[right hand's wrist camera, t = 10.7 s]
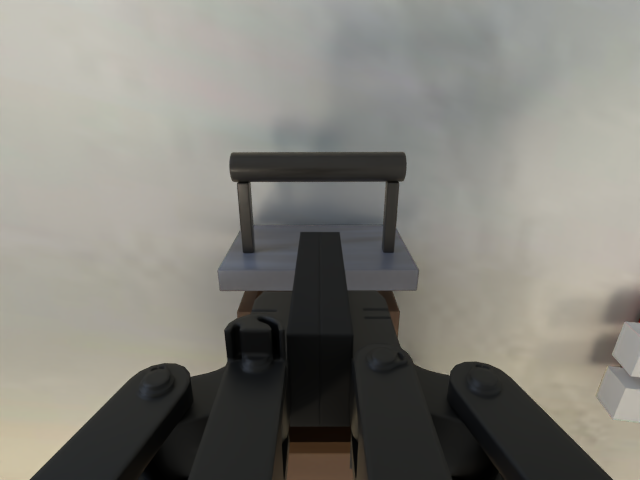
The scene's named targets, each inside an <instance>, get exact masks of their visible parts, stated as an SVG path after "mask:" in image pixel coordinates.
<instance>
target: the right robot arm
mask: <svg viewBox="0 0 640 480" xmlns="http://www.w3.org/2000/svg"><path fill="white" fill-rule="evenodd" d="M224 332H225V341H226V351H227V360H228V361H227V364H226V366H225V367H223V368H221V369H219V370H216V371H213V372H210V373H206V374H202V375H198V376H193V377H190V373H189V372H188V370H187V369H186V368H185V367H183V366H181V365H178V364H172V363H163V364H159V365H154V366H151V367H148V368H146V369H144V370H142V371H140V372H138V373H137V374H136V375H135V376H133V377H132V378H131V379H129V380H128V381H127V382H126V383H125V384H124V385H123V386H122V387H121V389H120V390H119V391H118V392H117V393H116V394H115V395H114V396H113V397H112V398H111V399H110V400H109V401H108V402H107V403H106V404H105V405H104V406H103V407H102V408H101V409H100V410H99V411H98V412H97V413H96V414H95V415H94V416H93V417H92V418H91V419H90V420H89V421H88V422H87V423H86V424H85V425H84V426H83V427H82V428H81V429H80V430H79V431H78V432H77V433H76V434H75V435H74V436H73V437H72V438H71V439H70V440H69V441H68V442H67V443H66V444H65V445H64V446H63V447H62V448H61V449H60V450H59V451H58V452H57V453H56V454H55V455H54V456H53V457H52V458H51V459H50V460H49V461H48V462H47V463H46V464H45V465H44V466H43V467H42V468H41V469H40V470H39V471H38V472H37V473H36V474H35V475H34V476H33V477H32V478H31V479H30V480H287V470H288V458H289V423H290V427H350V421H351V446H350V469H352V470H353V480H613V479H612V478H611V477H610V476H609V475H608V474H607V473H606V472H605V471H604V470H603V469H602V468H601V467H600V466H599V465H598V464H597V463H596V462H595V461H594V460H593V459H592V458H591V457H590V456H589V455H588V454H587V453H586V452H585V451H584V450H583V449H582V448H581V447H580V446H579V445H578V444H577V443H576V442H575V441H574V440H573V439H572V438H571V437H570V436H569V435H568V434H567V433H566V432H565V431H564V430H563V429H562V428H561V427H560V426H559V425H558V424H557V423H556V422H555V421H554V420H553V419H552V418H551V417H550V416H549V415H548V414H547V413H546V412H545V411H544V410H543V409H542V408H541V407H540V406H539V405H538V404H537V403H536V402H535V401H534V400H533V399H532V398H531V397H530V396H529V395H528V394H527V393H526V392H525V391H524V390H523V389H522V388H521V387H520V386H519V385H518V384H517V383H516V382H515V381H514V380H513V379H512V378H511V377H509V376H508V375H507V374H505V373H504V372H503V371H501V370H500V369H498V368H495V367H493V366H491V365H489V364H484V363H480V362H463V363H461V364H458V365H456V366H455V367H454V368H453V369H452V370H451V373H450V376H449V375H445V374H440V373H436V372H432V371H429V370H425V369H423V368H421V367H418V366H416V365H415V364H413V361H412V359H411V357H410V356H409V354H408V353H407V352H405V351H404V350H403V349H401V348H400V344H399V341H398V338H397V335H396V331H395V328H394V325H393V322H392V319H391V315H390V312H389V311H388V306H387V302H386V299H385V298H384V297H383V296H382V295H381V294H380V293H379V292H377V291H376V290H347V283H346V275H345V268H344V261H343V253H342V246H341V239H340V232H300V239H299V246H298V253H297V261H296V268H295V275H294V283H293V290H292V291H264V292H263V293H262V294H261V295H260V296H258V297H257V298H256V299H255V301H254V304H253V307H252V312H251V314H249V315H245V316H242V317H239V318H237V319H235V320H234V321H232V322H231V323H229V324H228V326H227V327H226V328H225V330H224Z"/></svg>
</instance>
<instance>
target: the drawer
mask: <svg viewBox="0 0 640 480" xmlns="http://www.w3.org/2000/svg"><path fill="white" fill-rule="evenodd" d="M229 166H230V175H231V179H232V181H233V182H238V183H237V190H238V202H239V214H240V226H241V230H240V232H239V233H238V235H237V237H236V239H235V240H234V242H233V244H232V246H231V248H230V249H229V251H228V253H227V255H226V256H225V258H224V260H223V262H222V263H221V265H220V267H219V269H218V279H219V288H220V291H245V292H244V295H243V298H242V300H241V303H240V306H239V308H238V311H237V316H238V318H239V317H242V316H245V315H249V314H251V312H252V307H253V304H254V301H255V299H256V298H257V297H258V296H260V295H261V294H262V293H263V292H264V291H292V290H293V283H294V275H295V268H296V261H297V253H298V246H299V239H300V232H340V239H341V246H342V253H343V261H344V268H345V275H346V283H347V290H376V291H377V292H379V293H380V294H381V295H382V296H383V297H384V298H385V299H386V302H387V306H388V311H389V312H390V315H391V319H392V322H393V325H394V328H395V331H396V335H397V338H398V327H399V315H400V311H399V308H398V306H397V303H396V300H395V297H394V294H393V292H392V291H416V290H417V284H418V275H419V269H418V267H417V266H416V264H415V262H414V260H413V258H412V256H411V255H410V253H409V251H408V249H407V247H406V245H405V244H404V242H403V240H402V238H401V236H400V234H399V233H398V231H397V229H396V220H397V206H398V193H399V182H402V181H404V179H405V175H406V155H405V153H404V152H233V153H231V156H230V163H229ZM250 182H386V187H385V203H384V219H383V225H253V212H252V198H251V183H250ZM289 442H351V421H350V427H290V423H289Z"/></svg>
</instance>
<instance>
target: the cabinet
mask: <svg viewBox="0 0 640 480" xmlns="http://www.w3.org/2000/svg"><path fill="white" fill-rule="evenodd" d="M350 446H351V442H289V458H288V470H287V480H353V470H352V469H350Z"/></svg>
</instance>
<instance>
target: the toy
mask: <svg viewBox="0 0 640 480" xmlns="http://www.w3.org/2000/svg"><path fill="white" fill-rule="evenodd" d="M612 355H613V357H614V358H615V359H616V360H617V361H618V362H619V363H620V365H621V366H622V367H613V366H607V368H606V371H605V373H604V376H603V378H602V381H601V383H600V386H599V388H598V391H597V394H596V397H597V398H598V400H599V401H600V403H601V404H602V405H603V407H604V408H605V410H606V411H607V412H608V414H609V415H610V417H611V418H612V419H613V420H621V421H629V422H637V423H640V320H639V322H638V323H636V322H624V324H623V327H622V330H621V332H620V335H619V337H618V340H617V342H616V345H615V347H614V350H613V353H612Z"/></svg>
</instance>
